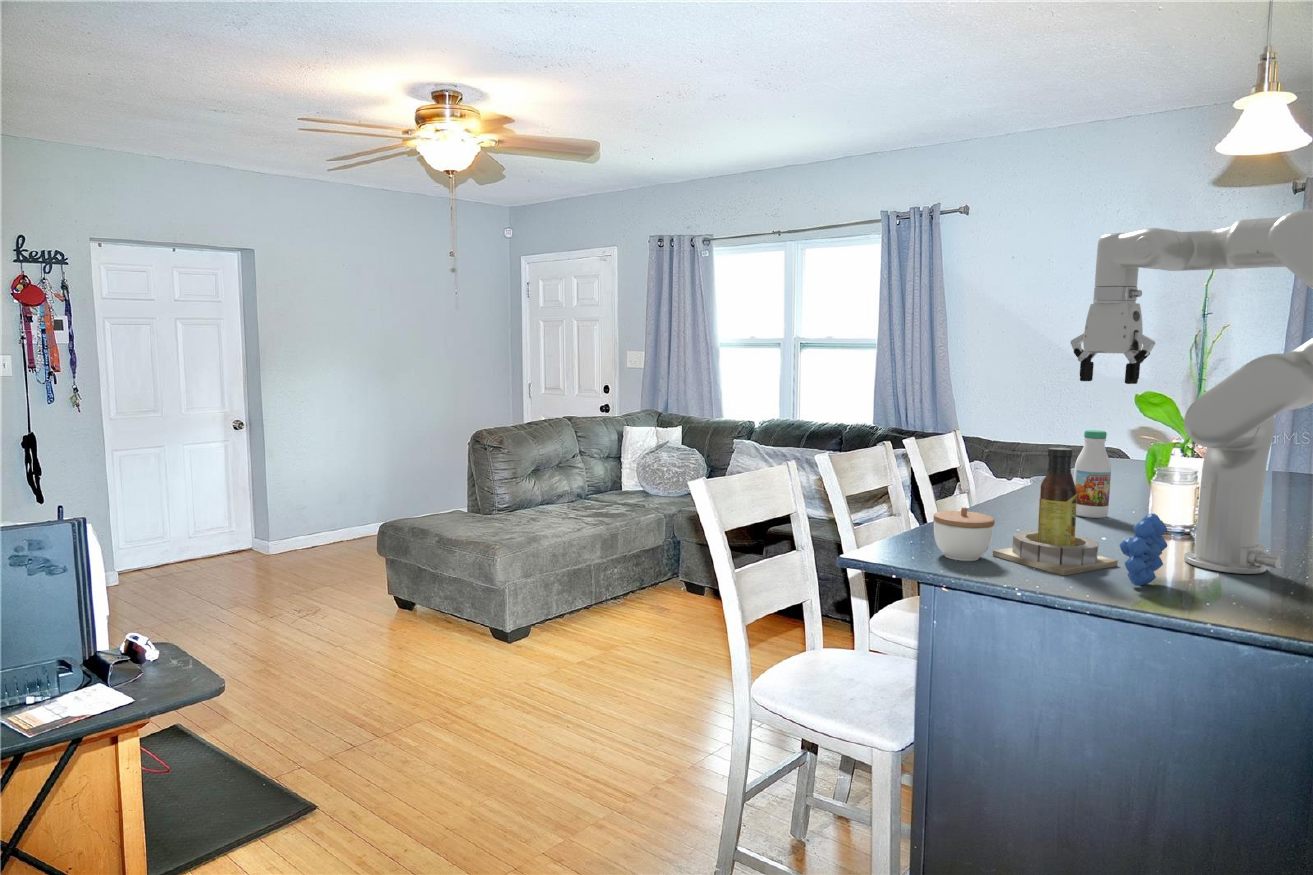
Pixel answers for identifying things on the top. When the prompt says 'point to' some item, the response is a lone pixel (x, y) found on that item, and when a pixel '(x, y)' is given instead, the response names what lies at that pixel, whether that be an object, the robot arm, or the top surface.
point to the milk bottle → (1093, 476)
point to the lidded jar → (963, 534)
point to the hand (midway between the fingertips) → (1108, 382)
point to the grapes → (1144, 550)
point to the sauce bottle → (1058, 501)
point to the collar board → (1055, 567)
